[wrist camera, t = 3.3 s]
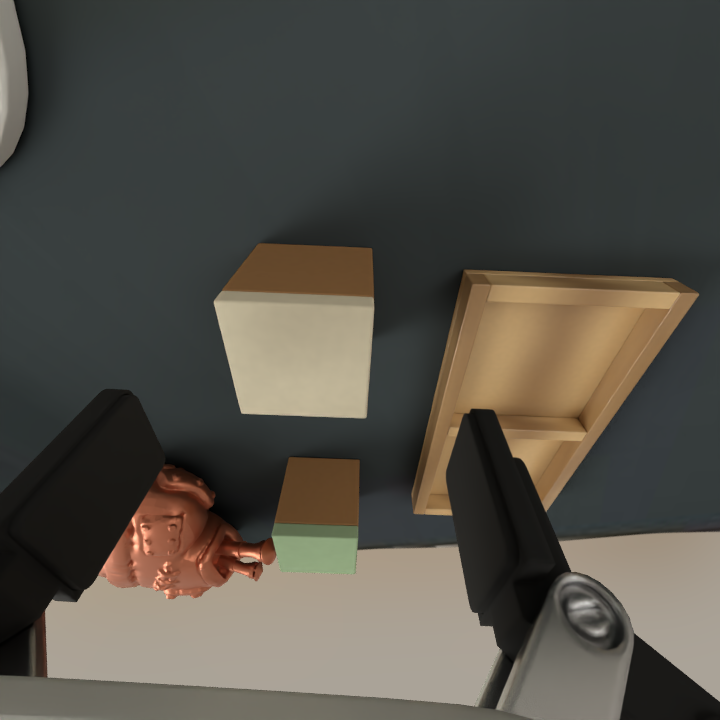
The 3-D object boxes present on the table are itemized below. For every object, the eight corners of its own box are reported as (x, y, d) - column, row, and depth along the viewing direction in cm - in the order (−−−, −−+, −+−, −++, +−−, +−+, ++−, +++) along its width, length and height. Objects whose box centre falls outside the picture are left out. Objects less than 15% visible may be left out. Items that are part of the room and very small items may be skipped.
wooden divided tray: (411, 494, 26) (413, 514, 25) (463, 269, 15) (472, 284, 14) (533, 498, 27) (541, 518, 25) (672, 278, 15) (700, 293, 14)
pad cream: (271, 338, 18) (240, 414, 13) (258, 242, 15) (212, 300, 10) (366, 342, 18) (366, 419, 13) (372, 247, 15) (374, 307, 10)
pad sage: (294, 495, 27) (280, 572, 22) (288, 456, 24) (271, 536, 19) (357, 498, 27) (355, 574, 22) (359, 459, 24) (357, 539, 19)
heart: (112, 621, 27) (290, 604, 25) (-9, 538, 21) (217, 506, 19) (151, 546, 32) (302, 527, 30) (65, 461, 26) (248, 429, 24)
